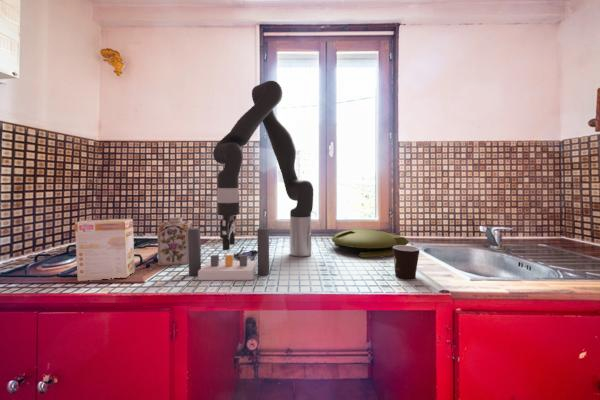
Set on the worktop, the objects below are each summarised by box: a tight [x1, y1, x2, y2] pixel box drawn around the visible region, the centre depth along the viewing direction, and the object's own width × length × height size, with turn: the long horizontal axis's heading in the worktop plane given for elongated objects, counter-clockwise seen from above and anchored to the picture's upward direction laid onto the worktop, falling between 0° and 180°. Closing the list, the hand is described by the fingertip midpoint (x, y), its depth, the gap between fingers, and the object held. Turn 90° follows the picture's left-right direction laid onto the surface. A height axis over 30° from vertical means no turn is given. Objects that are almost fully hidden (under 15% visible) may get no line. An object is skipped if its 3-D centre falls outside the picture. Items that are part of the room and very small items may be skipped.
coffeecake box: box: [74, 218, 136, 282], centre depth 96 cm, size 15×7×20 cm, turn 100°
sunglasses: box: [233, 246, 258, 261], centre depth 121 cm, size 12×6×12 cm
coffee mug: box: [392, 244, 420, 281], centre depth 98 cm, size 12×9×10 cm
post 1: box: [188, 227, 202, 277], centre depth 99 cm, size 4×4×16 cm
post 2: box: [256, 227, 270, 277], centre depth 100 cm, size 4×4×16 cm
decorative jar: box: [156, 216, 194, 266], centre depth 116 cm, size 12×12×18 cm
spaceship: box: [331, 228, 410, 259], centre depth 137 cm, size 35×31×10 cm
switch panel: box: [197, 254, 258, 281], centre depth 100 cm, size 18×12×7 cm, turn 92°
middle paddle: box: [224, 254, 234, 266], centre depth 100 cm, size 2×2×4 cm
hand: (229, 247), depth 99 cm, fingers open, 8 cm apart
